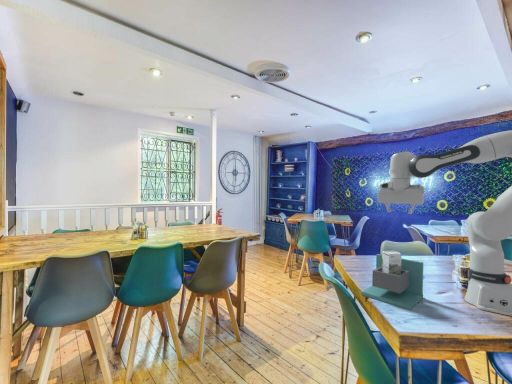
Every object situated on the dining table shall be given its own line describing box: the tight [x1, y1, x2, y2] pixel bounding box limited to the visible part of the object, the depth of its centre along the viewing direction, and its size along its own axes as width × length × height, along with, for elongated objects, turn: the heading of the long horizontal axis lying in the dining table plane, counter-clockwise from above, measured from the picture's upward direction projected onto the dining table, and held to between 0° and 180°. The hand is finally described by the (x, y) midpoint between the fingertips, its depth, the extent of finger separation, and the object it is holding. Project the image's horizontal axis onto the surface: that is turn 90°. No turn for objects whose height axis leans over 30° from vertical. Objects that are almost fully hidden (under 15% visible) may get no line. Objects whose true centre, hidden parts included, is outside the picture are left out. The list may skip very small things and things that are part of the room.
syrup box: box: [381, 250, 402, 276], centre depth 119 cm, size 6×6×14 cm
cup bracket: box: [361, 253, 424, 311], centre depth 120 cm, size 20×18×16 cm
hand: (399, 212), depth 131 cm, fingers open, 8 cm apart
